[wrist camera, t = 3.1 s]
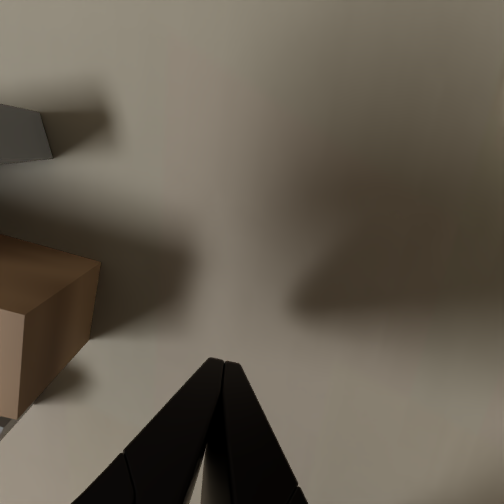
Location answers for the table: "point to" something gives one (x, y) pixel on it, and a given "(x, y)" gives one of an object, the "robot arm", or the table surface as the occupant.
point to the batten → (40, 317)
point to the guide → (20, 150)
